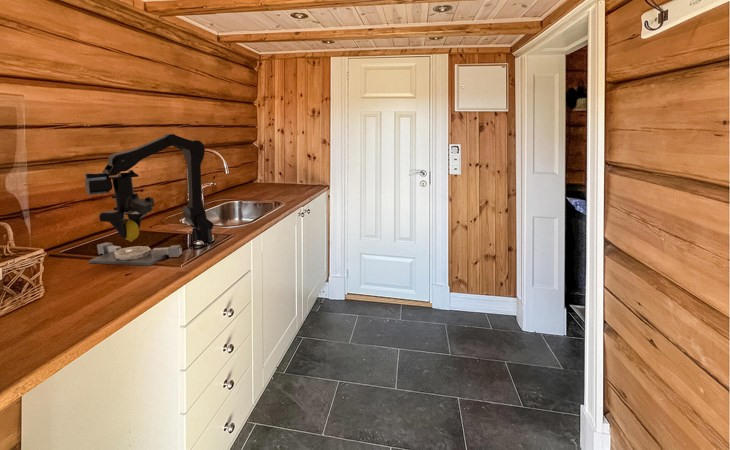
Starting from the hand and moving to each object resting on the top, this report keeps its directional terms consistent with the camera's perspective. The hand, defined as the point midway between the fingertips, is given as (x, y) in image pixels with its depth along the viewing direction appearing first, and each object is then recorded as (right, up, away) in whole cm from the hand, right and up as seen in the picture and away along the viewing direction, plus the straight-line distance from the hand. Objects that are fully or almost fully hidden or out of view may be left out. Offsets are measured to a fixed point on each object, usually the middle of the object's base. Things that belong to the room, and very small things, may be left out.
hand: (130, 236), depth 139 cm
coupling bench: (0, -8, +2) cm, 8 cm away
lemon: (0, -2, +1) cm, 2 cm away
